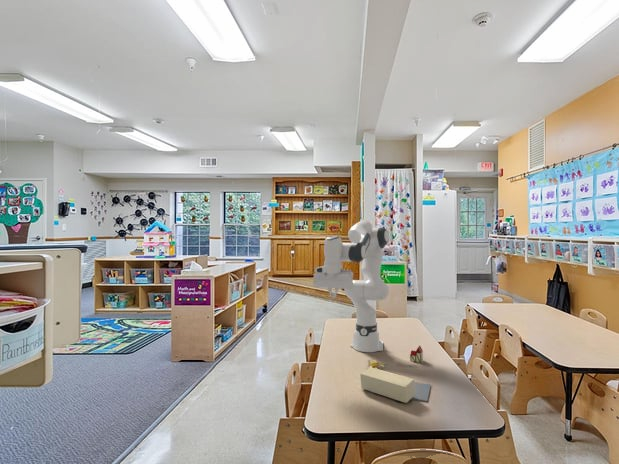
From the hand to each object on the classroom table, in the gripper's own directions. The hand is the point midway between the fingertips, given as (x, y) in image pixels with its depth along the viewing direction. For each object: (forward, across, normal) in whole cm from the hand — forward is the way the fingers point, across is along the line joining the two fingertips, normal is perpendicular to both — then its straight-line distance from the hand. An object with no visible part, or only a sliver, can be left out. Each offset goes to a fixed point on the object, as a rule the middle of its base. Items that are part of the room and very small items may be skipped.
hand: (333, 296), depth 175 cm
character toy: (+36, -19, -6) cm, 41 cm away
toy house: (+36, -36, -24) cm, 56 cm away
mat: (+35, -34, +11) cm, 50 cm away
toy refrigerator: (+32, -20, +15) cm, 40 cm away
